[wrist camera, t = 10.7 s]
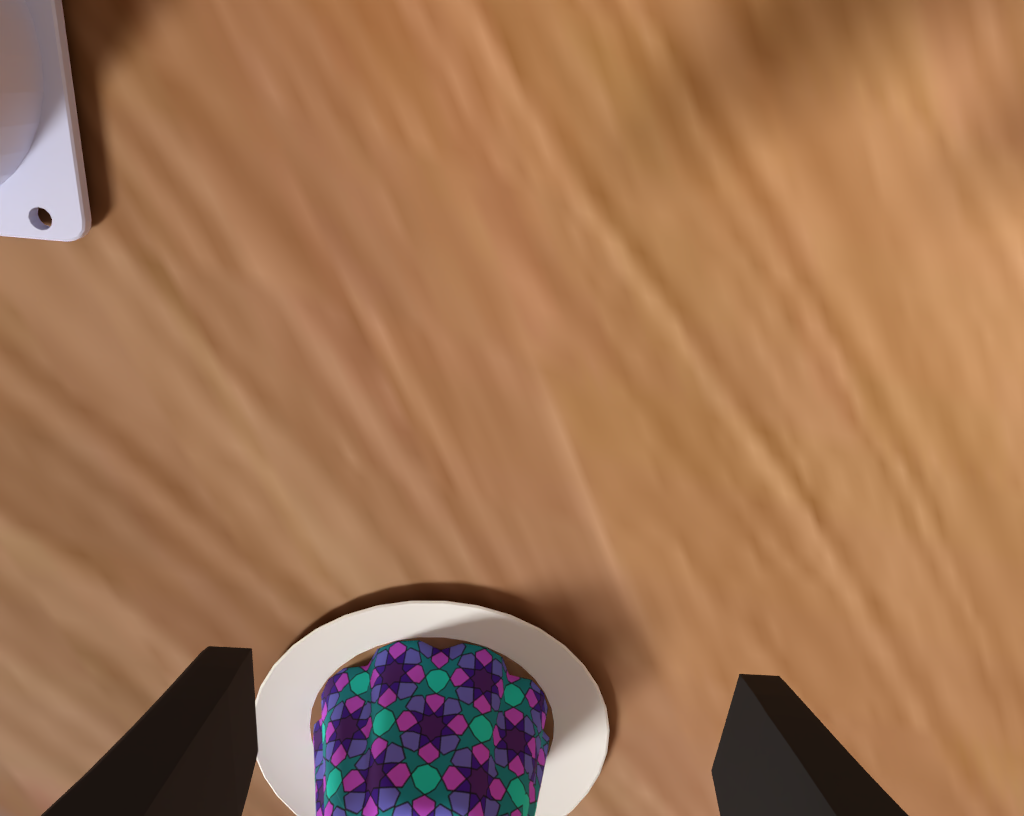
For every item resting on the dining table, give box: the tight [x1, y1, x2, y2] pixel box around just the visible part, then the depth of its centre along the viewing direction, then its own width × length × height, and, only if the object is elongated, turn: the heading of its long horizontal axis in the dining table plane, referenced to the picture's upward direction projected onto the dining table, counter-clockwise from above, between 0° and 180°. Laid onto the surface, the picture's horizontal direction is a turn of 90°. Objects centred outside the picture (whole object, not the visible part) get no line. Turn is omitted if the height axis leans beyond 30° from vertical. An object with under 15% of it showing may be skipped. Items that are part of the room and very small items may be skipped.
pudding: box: [255, 601, 610, 816], centre depth 23 cm, size 12×12×5 cm
